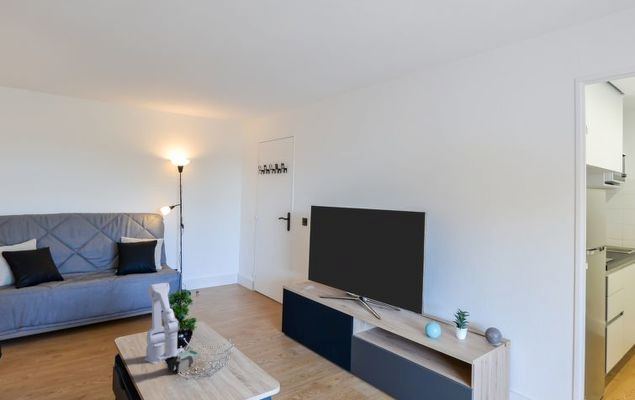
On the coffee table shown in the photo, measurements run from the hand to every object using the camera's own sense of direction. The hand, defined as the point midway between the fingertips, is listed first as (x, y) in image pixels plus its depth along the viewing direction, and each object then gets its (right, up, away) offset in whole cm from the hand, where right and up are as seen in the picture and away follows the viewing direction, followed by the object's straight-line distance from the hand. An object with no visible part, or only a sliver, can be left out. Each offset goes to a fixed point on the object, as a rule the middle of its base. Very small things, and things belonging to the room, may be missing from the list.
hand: (170, 370), depth 186 cm
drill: (+4, -2, +6) cm, 7 cm away
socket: (+3, -2, +4) cm, 5 cm away
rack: (+1, -1, +17) cm, 17 cm away
